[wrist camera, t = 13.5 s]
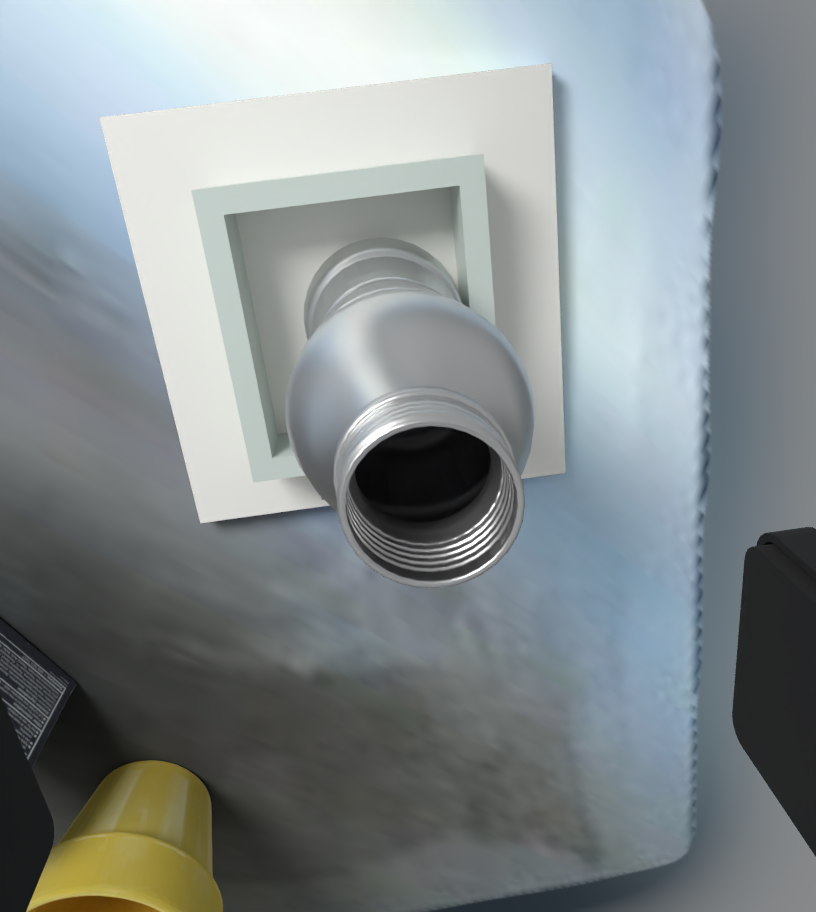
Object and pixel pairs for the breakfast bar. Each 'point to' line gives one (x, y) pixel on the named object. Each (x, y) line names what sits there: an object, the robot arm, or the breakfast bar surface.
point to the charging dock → (331, 247)
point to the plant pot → (135, 847)
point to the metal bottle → (410, 415)
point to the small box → (31, 690)
